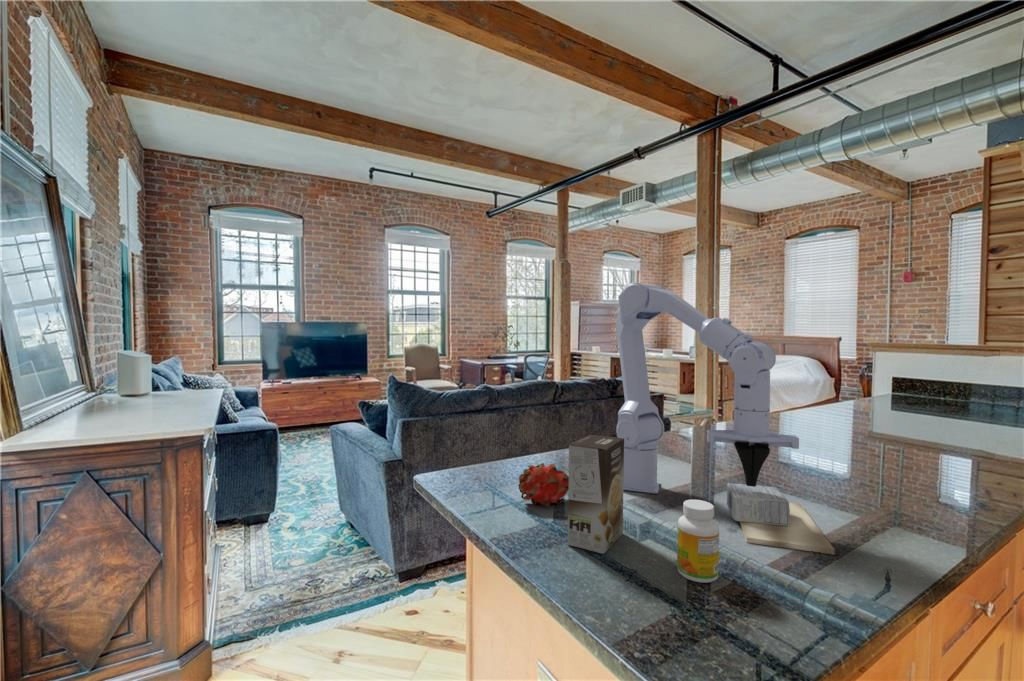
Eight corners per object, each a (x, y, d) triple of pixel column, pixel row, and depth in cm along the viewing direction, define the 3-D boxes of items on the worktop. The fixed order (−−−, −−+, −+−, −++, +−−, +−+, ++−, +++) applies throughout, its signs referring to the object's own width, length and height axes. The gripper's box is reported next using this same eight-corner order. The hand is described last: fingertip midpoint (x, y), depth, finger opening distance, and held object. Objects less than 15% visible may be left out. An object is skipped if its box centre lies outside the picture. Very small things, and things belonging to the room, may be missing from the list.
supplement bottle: (670, 564, 67) (671, 497, 67) (706, 563, 67) (707, 497, 67) (687, 584, 61) (688, 512, 61) (726, 583, 62) (727, 511, 62)
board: (746, 542, 74) (746, 537, 74) (731, 499, 93) (731, 496, 93) (834, 554, 70) (834, 549, 70) (799, 507, 89) (799, 503, 89)
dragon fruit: (511, 513, 89) (565, 514, 94) (530, 499, 83) (587, 500, 88) (507, 471, 94) (558, 473, 99) (524, 454, 88) (578, 458, 92)
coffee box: (605, 555, 69) (606, 449, 69) (566, 545, 73) (567, 443, 72) (624, 533, 77) (625, 437, 77) (588, 524, 81) (588, 433, 80)
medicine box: (733, 521, 80) (789, 527, 78) (734, 495, 80) (790, 501, 78) (726, 505, 88) (777, 510, 85) (726, 481, 88) (777, 486, 85)
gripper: (709, 410, 81) (708, 486, 81) (804, 415, 76) (803, 496, 77) (706, 404, 88) (705, 475, 88) (793, 408, 83) (792, 483, 83)
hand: (750, 484), depth 83 cm, fingers closed
